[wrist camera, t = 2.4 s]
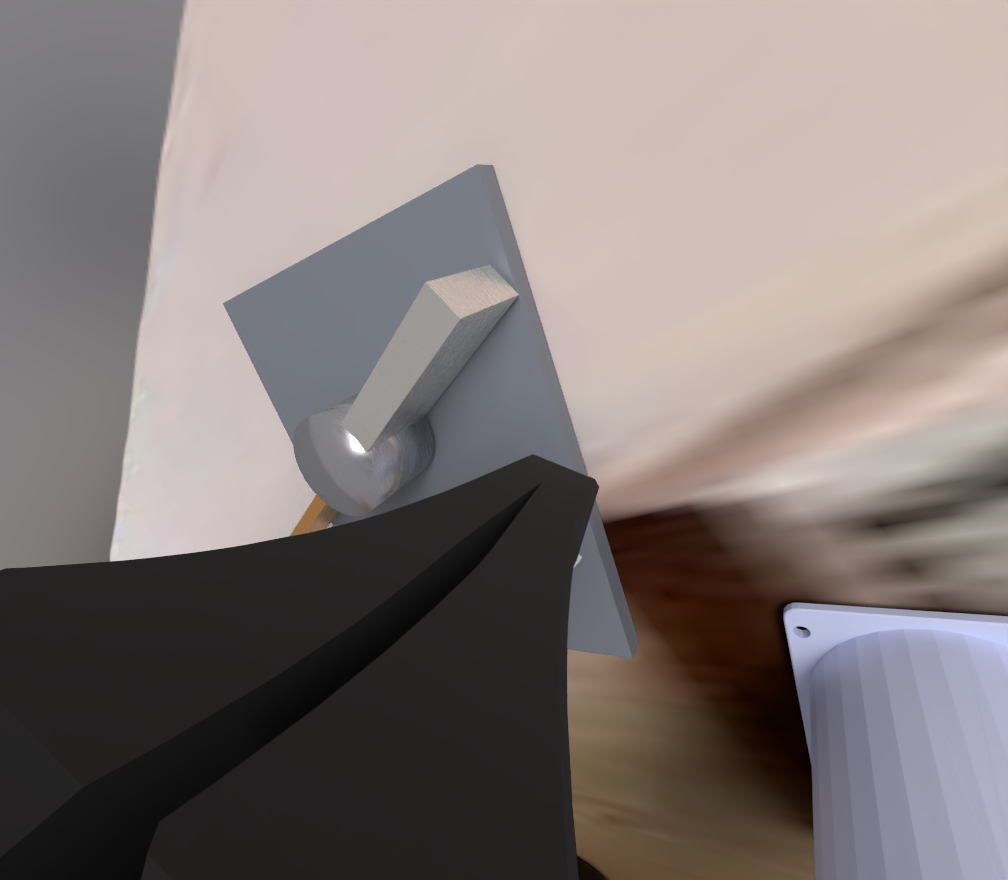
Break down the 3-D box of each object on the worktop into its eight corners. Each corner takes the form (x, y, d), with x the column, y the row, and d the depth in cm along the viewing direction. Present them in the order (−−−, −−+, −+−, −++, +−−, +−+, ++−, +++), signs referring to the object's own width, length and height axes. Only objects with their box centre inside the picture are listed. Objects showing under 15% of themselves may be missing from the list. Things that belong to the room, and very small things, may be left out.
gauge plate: (638, 641, 22) (631, 663, 21) (391, 610, 31) (378, 625, 30) (493, 165, 16) (472, 164, 15) (240, 299, 25) (217, 304, 24)
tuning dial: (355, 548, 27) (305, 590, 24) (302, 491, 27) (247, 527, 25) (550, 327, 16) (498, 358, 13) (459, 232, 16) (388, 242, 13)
